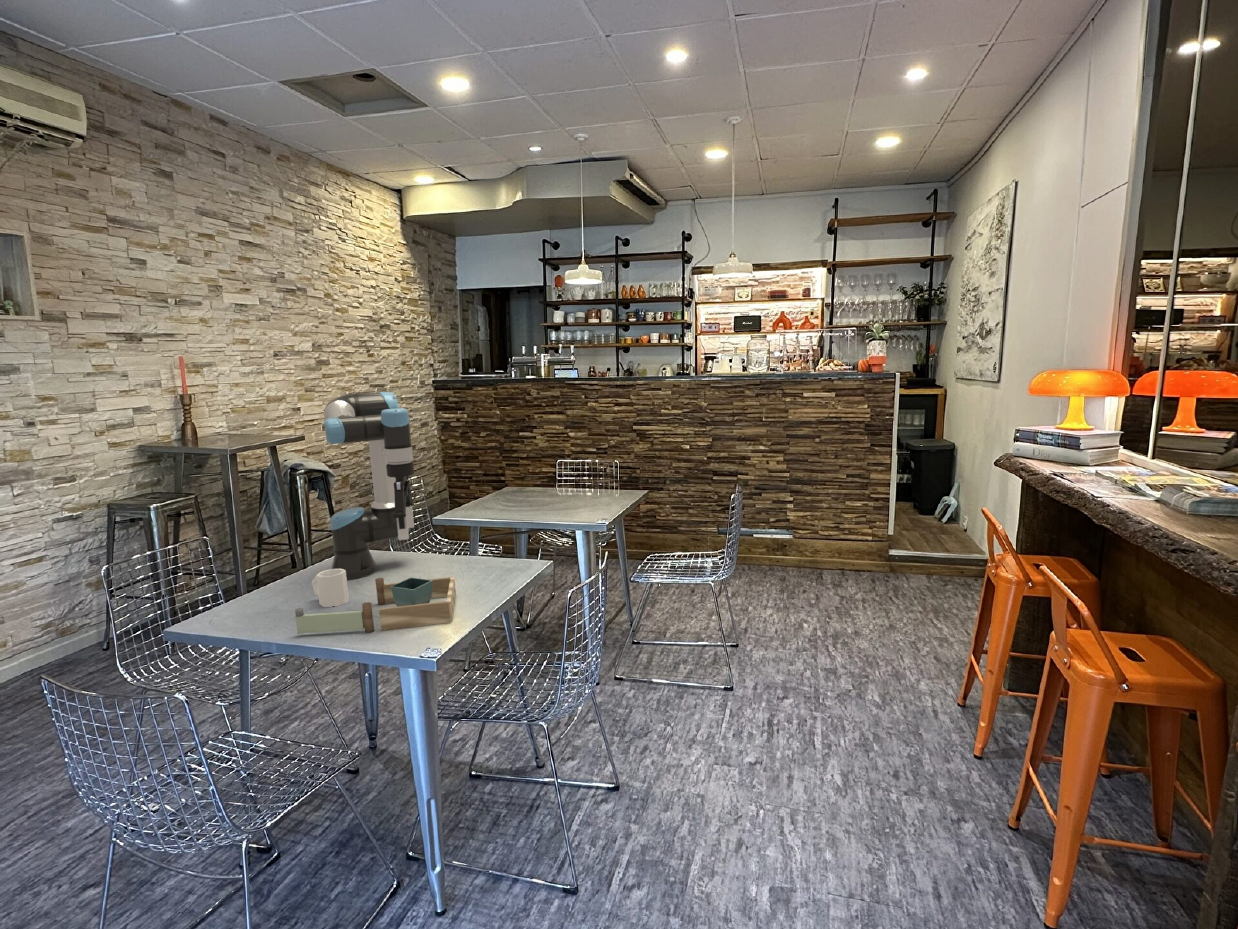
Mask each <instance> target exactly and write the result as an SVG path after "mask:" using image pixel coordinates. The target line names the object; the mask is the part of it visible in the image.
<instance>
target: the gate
mask: <svg viewBox="0 0 1238 929" xmlns="http://www.w3.org/2000/svg"><path fill="white" fill-rule="evenodd" d="M294 613H295V616H294V619H295V625H296V626H295V627H296V631H297V634H312V633H325V632H341V631H356V630H357V631H358V630H365V626H364V617H363V610H353V611H352V610H350V611H337V612H322V613H320V612H319V613H307V614H306V613H305V612H304V608H303V607H298V608H295V610H294Z"/></svg>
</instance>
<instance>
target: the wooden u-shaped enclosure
mask: <svg viewBox="0 0 1238 929" xmlns="http://www.w3.org/2000/svg"><path fill="white" fill-rule="evenodd" d="M427 580H432V596H431V600H432V599H438V598H439V599H440V598H446V600H445V601H435V602H430V603H425V604H417V605H408V606H399V607H397V606H393V607H383V608H379V610H378V613H379V621H380V629H381V631H389V630H398V629H406V628H413V627H414V628H415V627H423V626H430V625H431V626H433V625H439V624H448V623H451V622H453V620H454V612H455V606H456V598H457V593H456V591H457V590H456V581H455V577H453V576H448V577H438V578H428V579H427ZM374 581H375V589H376V597H377V605H378V606H379V605H380V606H382V605H383V606H384V605H385V604H395V602H394V598H393V594H392V590H391V586H393V585H395V584H397V583H400V582H401V581H400V582H392V583H385V580H384V577H378V578H375V579H374ZM372 605H373V604H372V602H368V601H367V602H364V603H362V604H361V606H362V607H361V608H362V611H363V617H364V626H365V628H364V633H366V634H370V633H373V632H374V631H375V625H374V615H373V608H372Z"/></svg>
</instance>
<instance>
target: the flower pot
mask: <svg viewBox="0 0 1238 929" xmlns="http://www.w3.org/2000/svg"><path fill="white" fill-rule="evenodd" d="M396 583H397V584H395V585H393V586H391V590H392V594H393V598H394V602H395V603H394V604H395V607H399V606H408V605H417V604H425V603H431V600H432V599H431V596H432V580H428V579H425V578H417V577H408V578H407V579H404V580H402V581H400V583H399V582H396Z"/></svg>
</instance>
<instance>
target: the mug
mask: <svg viewBox="0 0 1238 929" xmlns="http://www.w3.org/2000/svg"><path fill="white" fill-rule="evenodd" d="M310 583H311V586H312V588H313V592H314V595H315V596H318V602H319V606H320V605H321V607H323V608H330V607H331V608H333V607H332V606H335V607H337V606H341V605H344V604H346V603H348V602H349V600H350V594H349V589H348V580H347V578H346V570H344V569H332V568H330V569H325V570H322V571H320V572H319V573H317V574H315V576H314V578H313V579H312V581H311V582H310Z"/></svg>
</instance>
